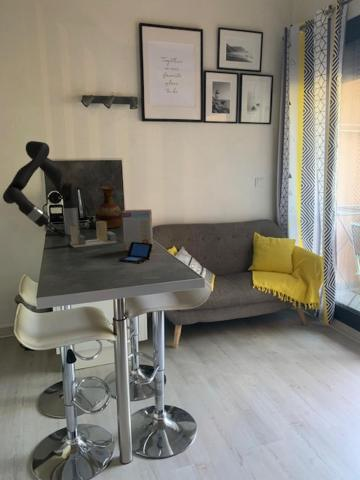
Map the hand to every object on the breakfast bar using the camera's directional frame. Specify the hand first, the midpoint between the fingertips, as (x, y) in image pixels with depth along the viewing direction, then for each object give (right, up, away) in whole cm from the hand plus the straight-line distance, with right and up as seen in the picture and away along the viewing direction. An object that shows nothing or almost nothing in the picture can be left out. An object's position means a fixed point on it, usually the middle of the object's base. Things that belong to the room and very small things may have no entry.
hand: (63, 236), depth 210 cm
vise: (+15, -4, +8) cm, 17 cm away
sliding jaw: (+7, -4, +4) cm, 9 cm away
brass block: (+19, -2, +10) cm, 22 cm away
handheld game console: (+44, -11, -34) cm, 57 cm away
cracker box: (+43, -7, -15) cm, 46 cm away
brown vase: (+13, +7, +68) cm, 70 cm away
